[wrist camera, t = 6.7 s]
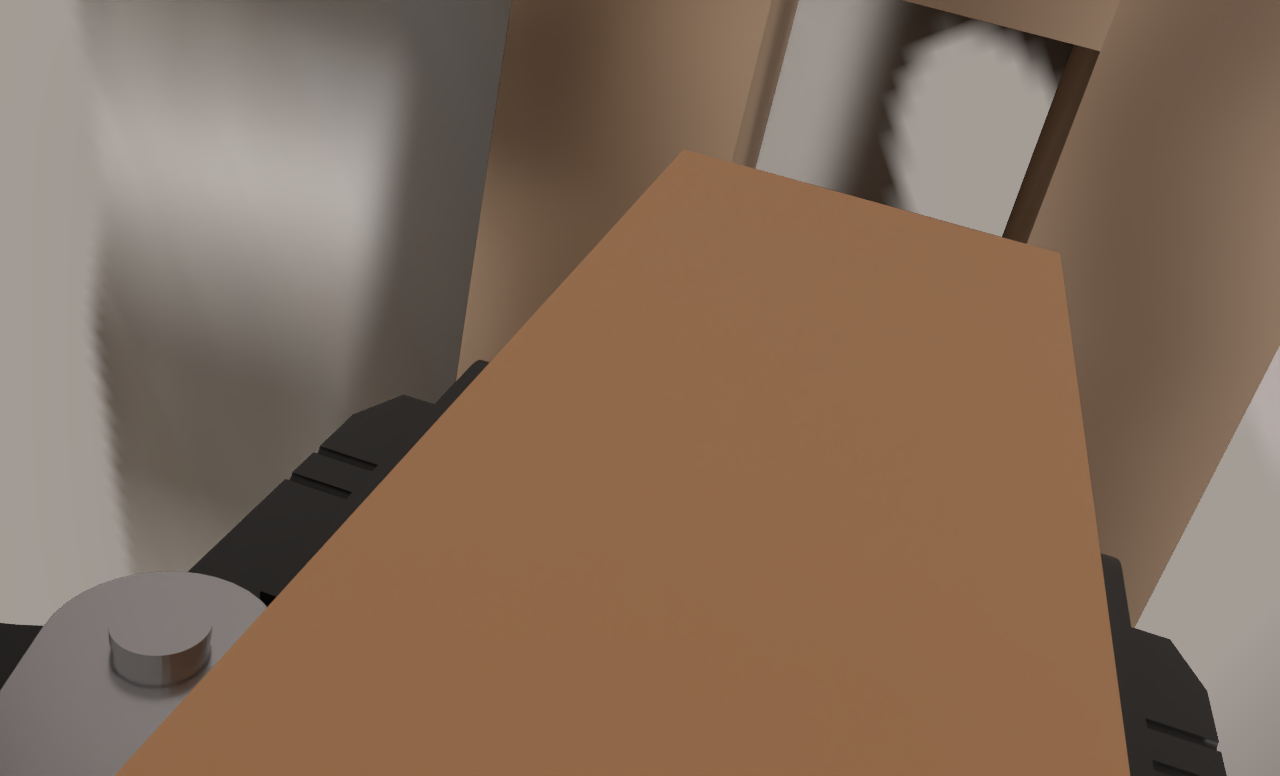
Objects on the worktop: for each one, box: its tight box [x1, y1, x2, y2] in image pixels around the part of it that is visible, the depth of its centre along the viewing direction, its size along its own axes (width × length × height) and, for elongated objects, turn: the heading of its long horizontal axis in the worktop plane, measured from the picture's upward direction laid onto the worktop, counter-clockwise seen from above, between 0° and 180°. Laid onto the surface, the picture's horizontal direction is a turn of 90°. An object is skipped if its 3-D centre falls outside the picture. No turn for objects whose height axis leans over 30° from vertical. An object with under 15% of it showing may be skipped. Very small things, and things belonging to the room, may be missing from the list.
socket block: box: [456, 0, 1280, 628], centre depth 24 cm, size 14×16×4 cm
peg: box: [114, 149, 1130, 776], centre depth 8 cm, size 4×4×12 cm
